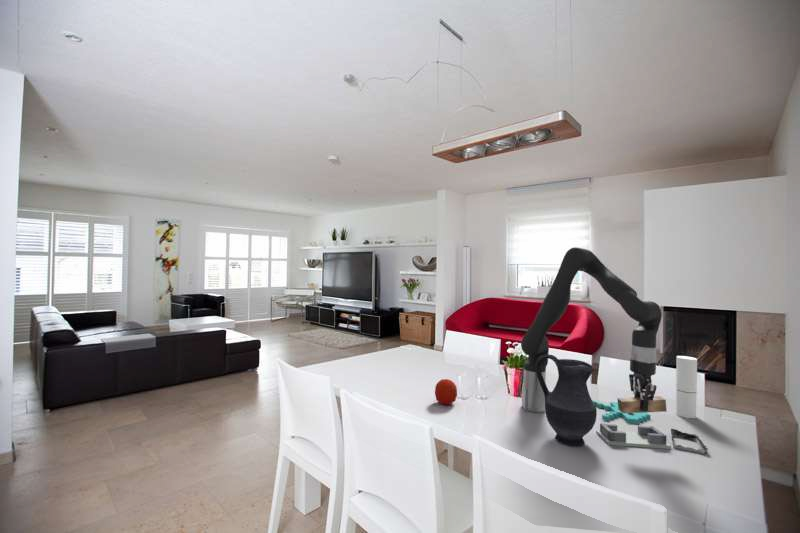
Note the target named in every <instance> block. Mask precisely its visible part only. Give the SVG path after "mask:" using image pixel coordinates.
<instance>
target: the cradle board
mask: <svg viewBox="0 0 800 533" xmlns="http://www.w3.org/2000/svg"><path fill="white" fill-rule="evenodd" d="M624 432H625V433H626V442H620V441H609V440H608V439H607V438H606V437H605V436H604V435H603V434H602V433H601V432H600V429H596V430H595V434H597V435H598V436H599V437H600V438H601V439H602V440H603V441H604V443H606V444H607V445H609V446H620V447H621V446H622V447H623V446H624V447H635V448H637V447H638V448H639V447H640V448H650V449H651V448H652V449H653V448H655V449H665V450H667V449H668V450H671V449H672V445H670V444H669V443H668V442H666V444H651V443H649V442H647V437H648V436H641V435H639V434H638V432H632V431H624Z"/></svg>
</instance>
